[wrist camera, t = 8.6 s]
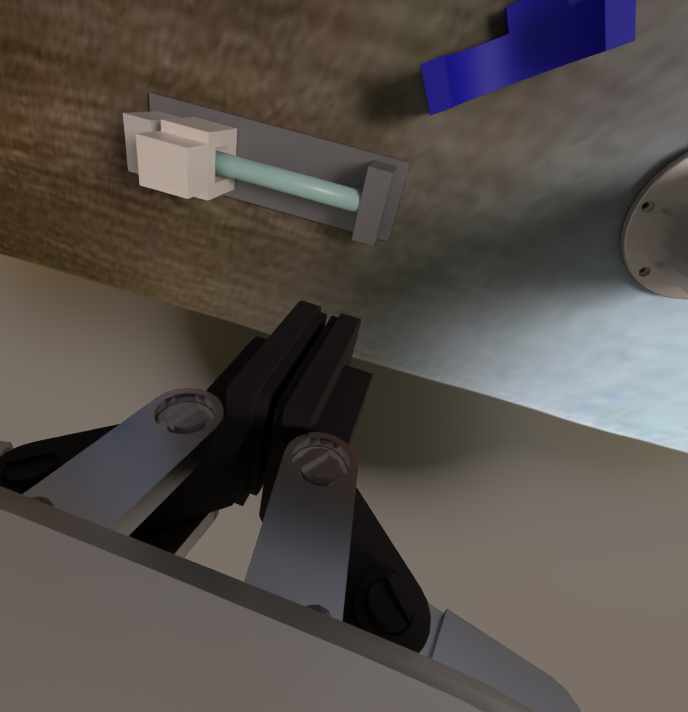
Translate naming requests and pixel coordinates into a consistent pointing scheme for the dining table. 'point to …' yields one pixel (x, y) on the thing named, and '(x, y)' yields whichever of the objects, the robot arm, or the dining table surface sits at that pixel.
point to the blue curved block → (529, 47)
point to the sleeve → (185, 157)
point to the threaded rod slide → (293, 170)
